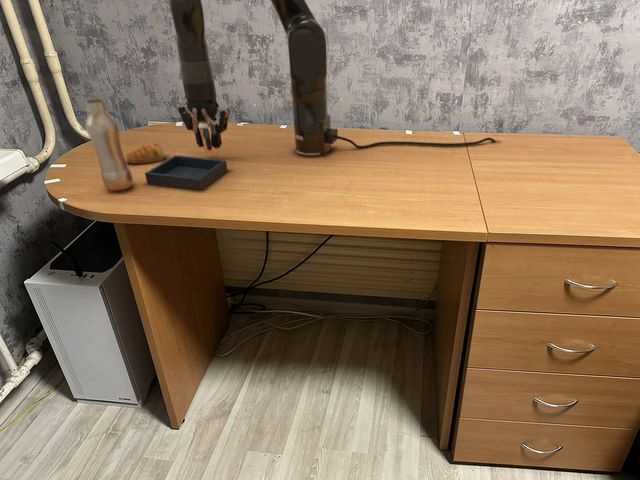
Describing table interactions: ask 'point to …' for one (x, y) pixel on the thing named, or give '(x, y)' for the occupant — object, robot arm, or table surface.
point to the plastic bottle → (107, 146)
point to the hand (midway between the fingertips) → (209, 146)
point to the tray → (187, 172)
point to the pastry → (146, 154)
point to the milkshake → (207, 138)
